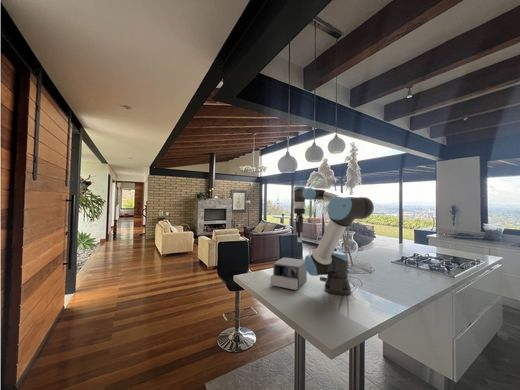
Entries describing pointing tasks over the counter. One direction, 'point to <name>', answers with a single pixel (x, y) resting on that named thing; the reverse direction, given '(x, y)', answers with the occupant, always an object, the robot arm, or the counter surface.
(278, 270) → the housing
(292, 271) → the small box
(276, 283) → the grey drawer
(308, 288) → the counter surface
